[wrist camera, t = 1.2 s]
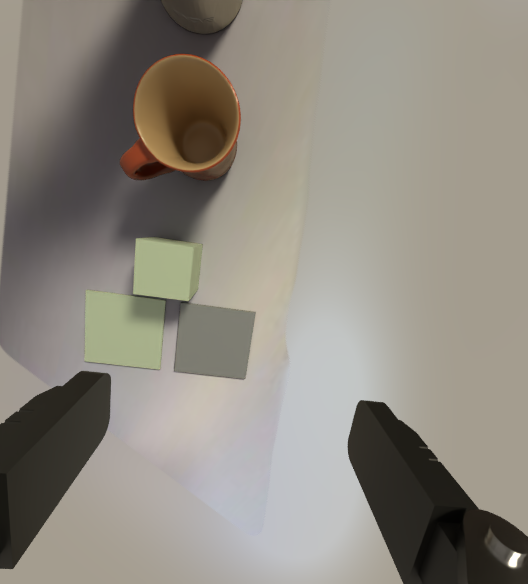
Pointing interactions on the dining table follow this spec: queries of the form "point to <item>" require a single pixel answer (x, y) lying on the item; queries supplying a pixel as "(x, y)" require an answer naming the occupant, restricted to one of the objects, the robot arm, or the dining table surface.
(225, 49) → the dining table surface
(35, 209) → the dining table surface
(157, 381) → the dining table surface
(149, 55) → the dining table surface
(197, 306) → the grey pad
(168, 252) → the pale green cube
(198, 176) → the mug
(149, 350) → the sage pad
